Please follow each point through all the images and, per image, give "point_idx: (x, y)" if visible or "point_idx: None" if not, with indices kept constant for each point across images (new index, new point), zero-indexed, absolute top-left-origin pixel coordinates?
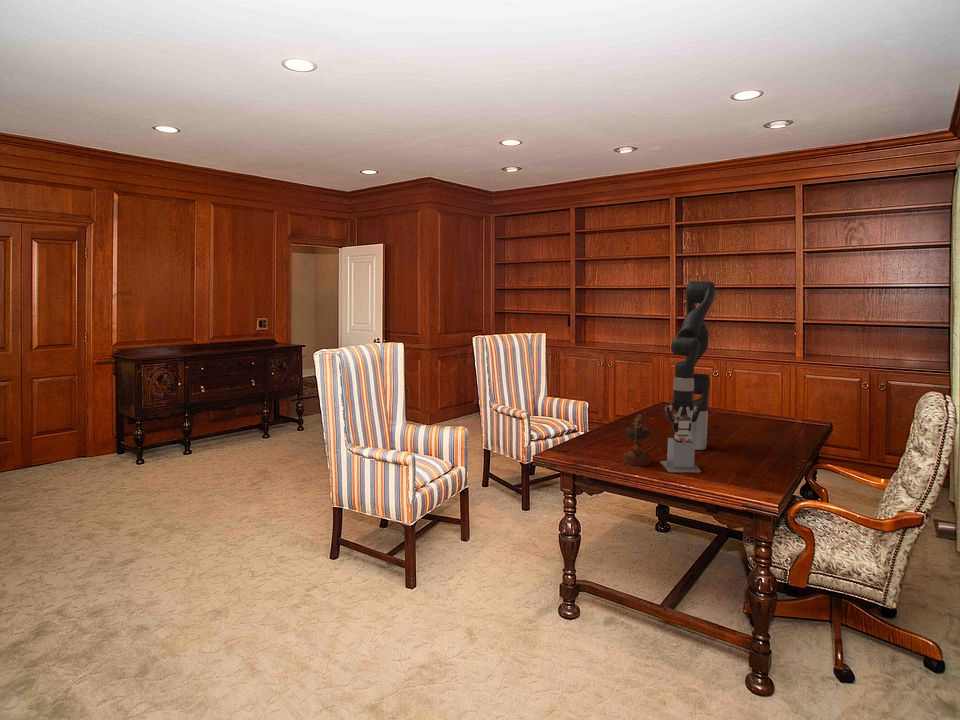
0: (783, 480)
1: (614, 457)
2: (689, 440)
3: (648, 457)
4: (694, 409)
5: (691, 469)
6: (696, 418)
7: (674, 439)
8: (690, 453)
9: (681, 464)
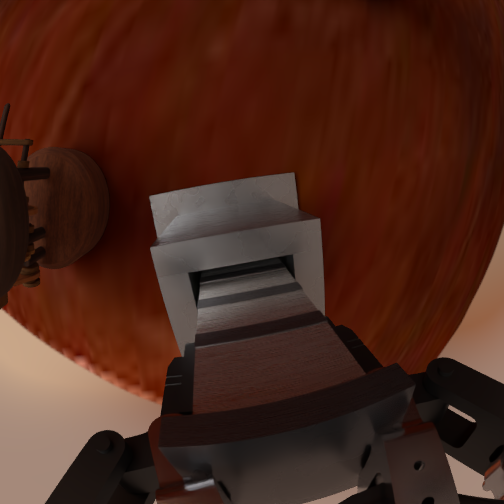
0: (464, 303)
1: None
2: (310, 295)
3: (88, 244)
4: (492, 490)
5: None
6: (445, 425)
7: (200, 281)
8: None
9: None
